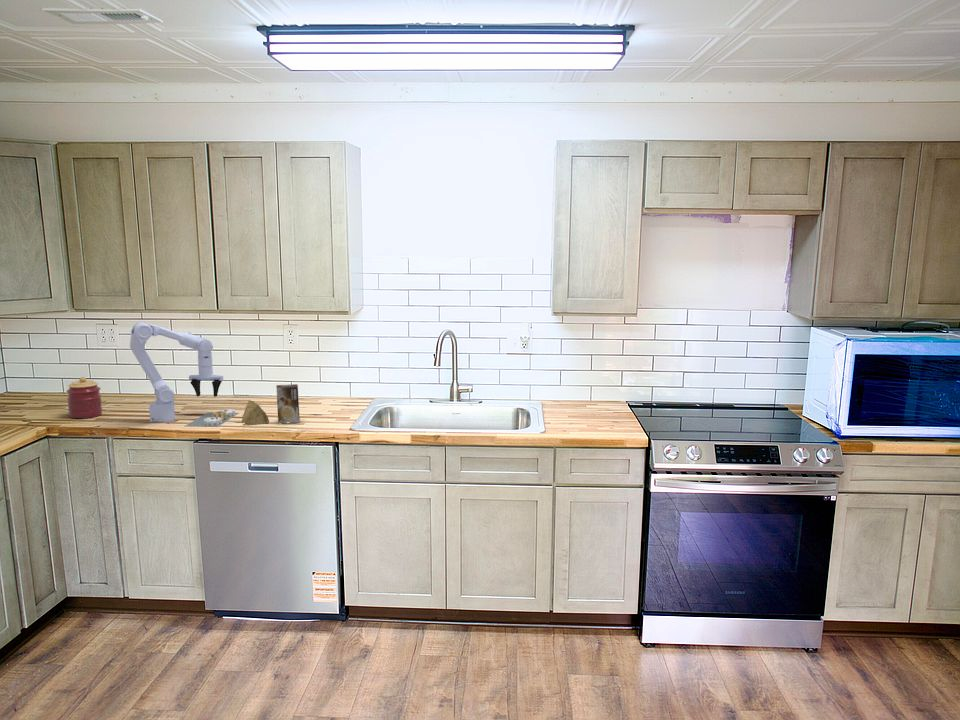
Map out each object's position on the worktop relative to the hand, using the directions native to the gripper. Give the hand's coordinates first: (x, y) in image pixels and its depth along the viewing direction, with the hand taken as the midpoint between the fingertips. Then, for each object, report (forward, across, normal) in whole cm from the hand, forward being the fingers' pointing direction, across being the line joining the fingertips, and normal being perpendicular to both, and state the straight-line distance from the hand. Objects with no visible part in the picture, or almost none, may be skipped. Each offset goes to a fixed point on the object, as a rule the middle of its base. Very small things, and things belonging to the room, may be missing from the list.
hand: (207, 396), depth 293 cm
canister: (+10, +54, +2) cm, 55 cm away
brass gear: (+8, -8, +8) cm, 14 cm away
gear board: (+9, -6, +8) cm, 14 cm away
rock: (+10, -25, +10) cm, 29 cm away
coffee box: (+10, -38, +6) cm, 40 cm away
